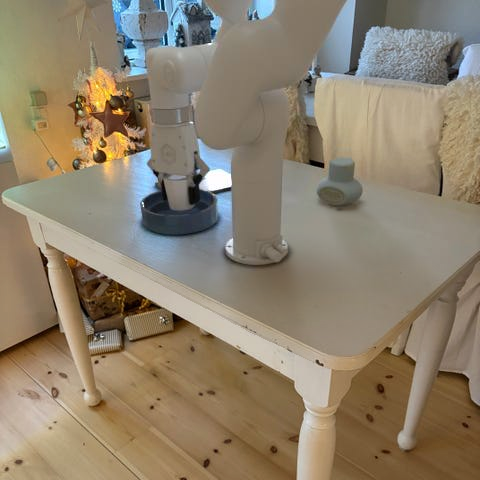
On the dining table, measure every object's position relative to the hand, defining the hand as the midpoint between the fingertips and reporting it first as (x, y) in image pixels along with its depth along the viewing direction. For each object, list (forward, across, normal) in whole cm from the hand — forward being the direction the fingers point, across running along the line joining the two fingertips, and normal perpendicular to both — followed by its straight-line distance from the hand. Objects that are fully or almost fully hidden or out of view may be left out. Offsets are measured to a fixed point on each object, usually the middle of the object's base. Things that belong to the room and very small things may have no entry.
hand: (181, 200), depth 110 cm
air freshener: (+6, +28, +26) cm, 39 cm away
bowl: (+5, -1, 0) cm, 5 cm away
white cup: (+2, 0, 0) cm, 2 cm away
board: (+4, -9, +21) cm, 23 cm away
